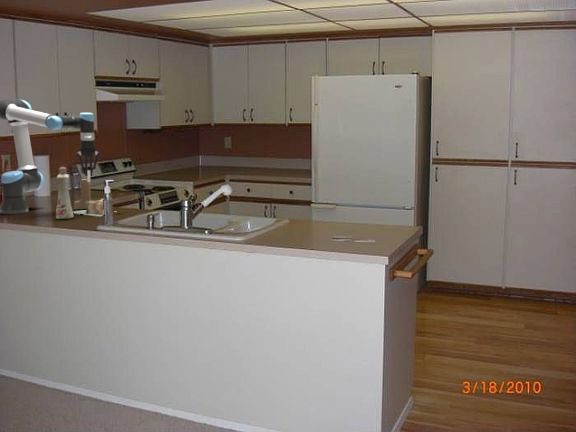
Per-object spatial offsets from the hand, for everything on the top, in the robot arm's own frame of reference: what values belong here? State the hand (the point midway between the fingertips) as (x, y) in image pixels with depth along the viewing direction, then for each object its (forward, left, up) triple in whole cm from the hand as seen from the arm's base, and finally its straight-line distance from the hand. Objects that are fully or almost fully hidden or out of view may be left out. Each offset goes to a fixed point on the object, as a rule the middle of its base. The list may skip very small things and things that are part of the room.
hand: (89, 181), depth 395 cm
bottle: (-23, -7, -18) cm, 30 cm away
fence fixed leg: (-6, -12, -18) cm, 22 cm away
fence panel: (+1, -5, -17) cm, 17 cm away
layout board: (0, -5, -18) cm, 18 cm away
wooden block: (+7, +15, -18) cm, 24 cm away
